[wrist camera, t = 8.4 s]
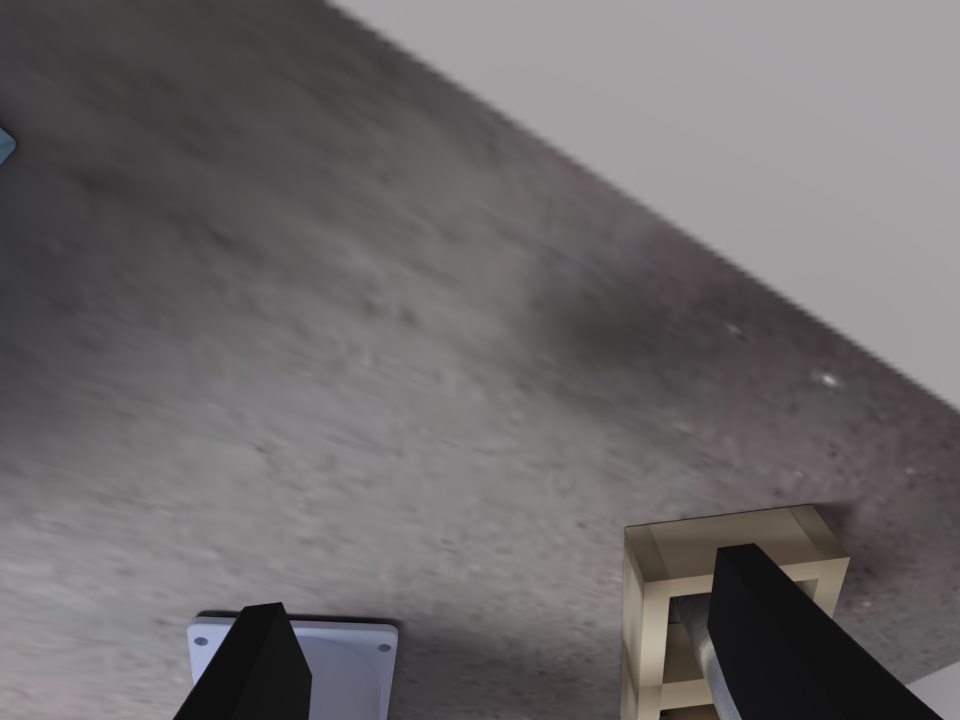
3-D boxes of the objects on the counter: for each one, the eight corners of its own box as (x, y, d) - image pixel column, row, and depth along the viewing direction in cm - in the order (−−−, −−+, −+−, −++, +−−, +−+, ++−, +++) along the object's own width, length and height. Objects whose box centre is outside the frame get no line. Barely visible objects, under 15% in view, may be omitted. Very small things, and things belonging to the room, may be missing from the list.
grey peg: (744, 599, 26) (857, 822, 19) (659, 603, 25) (742, 830, 18) (766, 537, 24) (901, 760, 17) (675, 541, 23) (774, 768, 17)
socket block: (761, 712, 30) (829, 861, 25) (619, 730, 30) (658, 882, 25) (811, 504, 23) (921, 652, 18) (624, 527, 23) (680, 682, 18)
